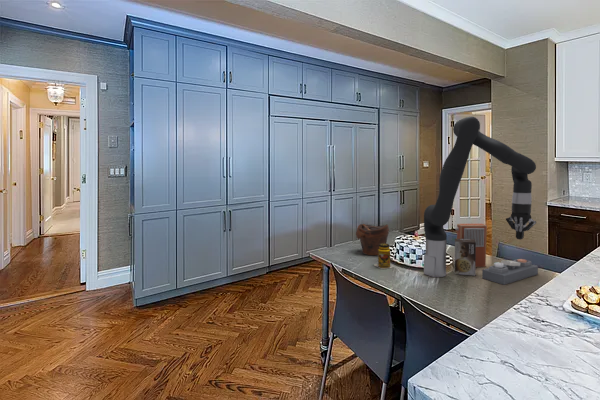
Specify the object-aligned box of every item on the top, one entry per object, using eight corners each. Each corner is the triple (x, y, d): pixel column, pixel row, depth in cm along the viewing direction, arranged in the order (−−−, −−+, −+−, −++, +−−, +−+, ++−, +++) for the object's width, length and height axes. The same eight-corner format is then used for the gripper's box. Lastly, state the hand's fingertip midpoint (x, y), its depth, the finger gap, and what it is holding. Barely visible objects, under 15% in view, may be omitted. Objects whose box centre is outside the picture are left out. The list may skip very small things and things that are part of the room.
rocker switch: (510, 265, 151) (510, 262, 151) (501, 263, 155) (501, 260, 155) (520, 265, 155) (520, 262, 155) (511, 263, 159) (511, 260, 159)
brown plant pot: (352, 249, 211) (352, 221, 209) (383, 248, 213) (383, 220, 211) (360, 257, 194) (360, 227, 191) (394, 256, 196) (394, 225, 194)
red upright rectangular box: (453, 263, 178) (483, 263, 176) (458, 267, 171) (489, 267, 169) (454, 223, 175) (484, 223, 174) (459, 225, 168) (490, 225, 167)
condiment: (382, 269, 171) (382, 246, 170) (372, 265, 179) (372, 243, 177) (394, 267, 174) (394, 244, 172) (384, 263, 181) (384, 241, 180)
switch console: (504, 284, 145) (504, 271, 145) (482, 278, 154) (482, 265, 154) (537, 274, 157) (538, 262, 157) (515, 268, 166) (516, 257, 165)
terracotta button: (523, 266, 157) (523, 261, 157) (515, 264, 160) (515, 259, 160) (528, 264, 159) (528, 260, 158) (520, 263, 162) (520, 258, 162)
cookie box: (474, 272, 163) (475, 239, 161) (475, 276, 157) (476, 242, 156) (454, 270, 167) (454, 238, 165) (454, 273, 161) (454, 240, 159)
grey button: (500, 269, 149) (500, 264, 148) (492, 267, 152) (492, 262, 152) (505, 268, 150) (505, 263, 150) (497, 266, 153) (497, 261, 153)
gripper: (502, 201, 160) (500, 237, 161) (532, 204, 148) (530, 242, 150) (511, 200, 163) (509, 235, 165) (541, 203, 152) (539, 241, 153)
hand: (519, 239), depth 157 cm, fingers closed
